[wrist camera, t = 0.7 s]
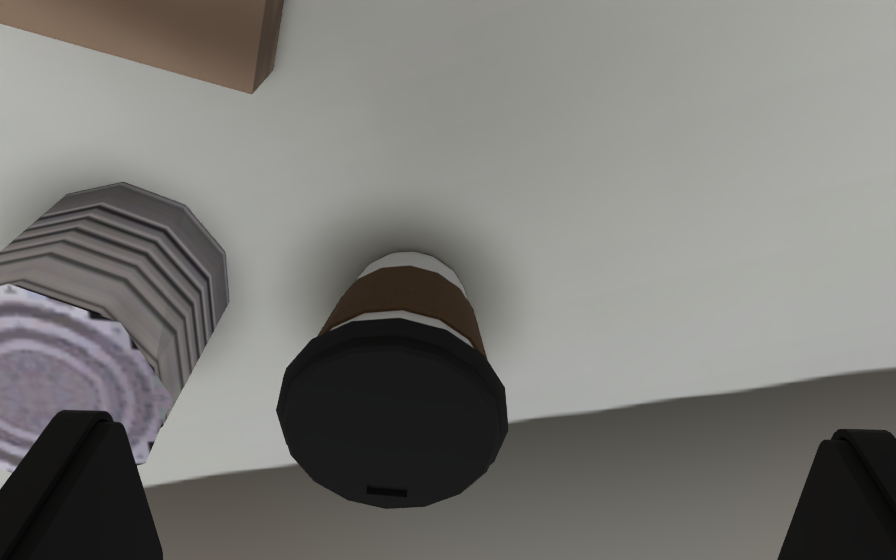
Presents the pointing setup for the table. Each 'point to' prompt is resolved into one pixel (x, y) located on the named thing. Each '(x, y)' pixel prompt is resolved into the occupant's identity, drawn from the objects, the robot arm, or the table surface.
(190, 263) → the can
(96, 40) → the walnut plinth
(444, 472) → the coffee cup
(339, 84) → the table surface
